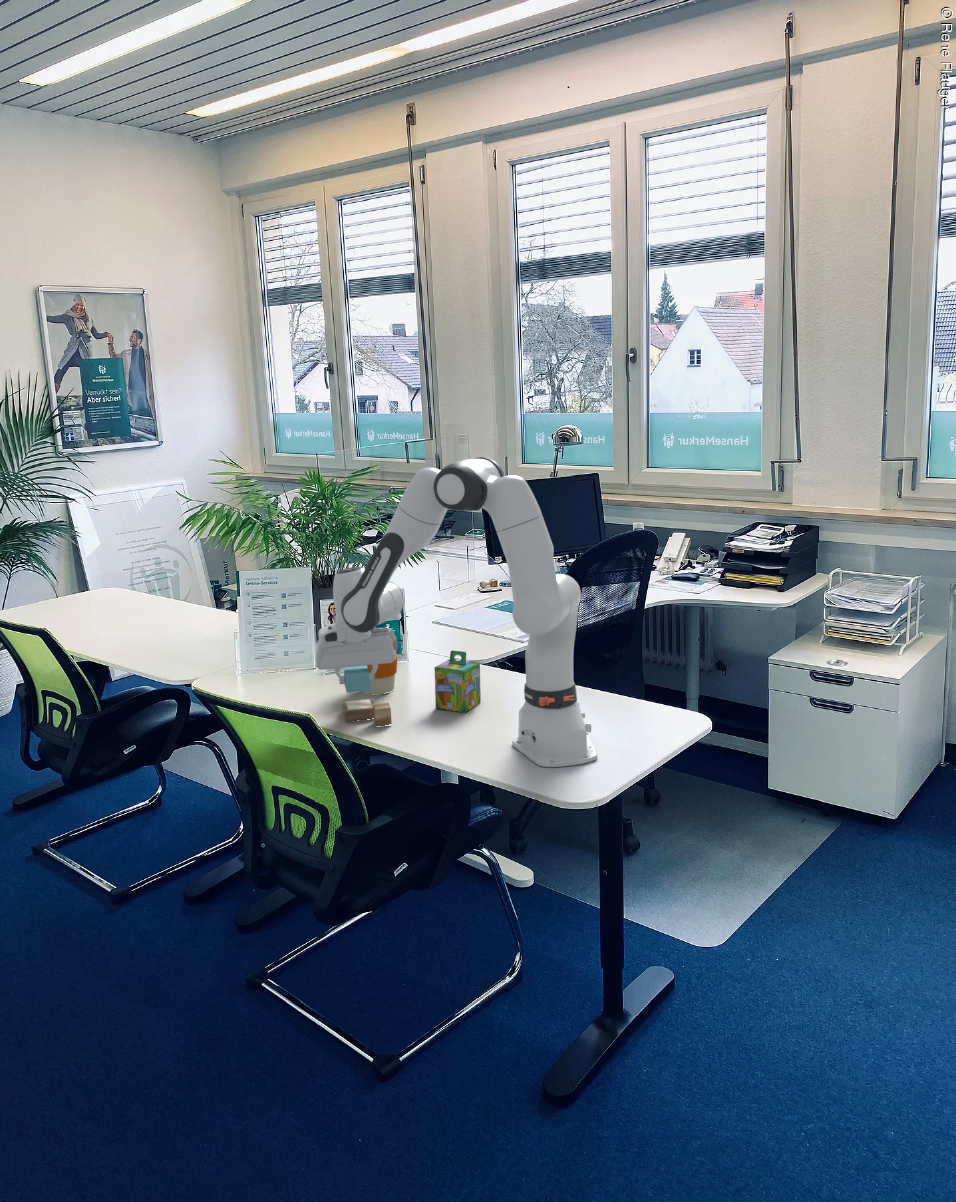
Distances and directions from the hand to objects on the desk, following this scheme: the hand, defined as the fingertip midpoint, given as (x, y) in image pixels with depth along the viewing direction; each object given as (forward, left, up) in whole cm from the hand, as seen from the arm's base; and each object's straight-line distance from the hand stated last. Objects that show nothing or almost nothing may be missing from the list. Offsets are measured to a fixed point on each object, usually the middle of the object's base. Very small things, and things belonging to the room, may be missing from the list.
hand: (356, 681), depth 246 cm
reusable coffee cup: (+19, -7, -9) cm, 22 cm away
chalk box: (-1, -26, -9) cm, 28 cm away
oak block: (-8, -5, -9) cm, 13 cm away
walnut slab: (0, 0, -9) cm, 9 cm away
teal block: (0, 0, -2) cm, 2 cm away
